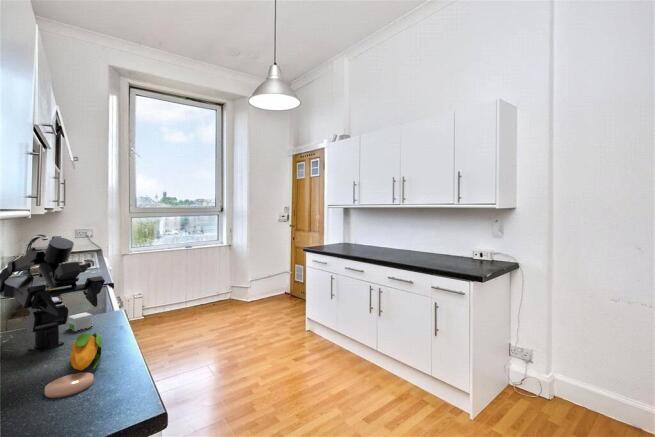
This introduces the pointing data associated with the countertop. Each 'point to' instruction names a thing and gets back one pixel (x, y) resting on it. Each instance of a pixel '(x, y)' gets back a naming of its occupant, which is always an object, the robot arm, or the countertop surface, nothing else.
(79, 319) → the small box
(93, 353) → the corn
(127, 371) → the countertop surface
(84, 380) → the pink flat disc
